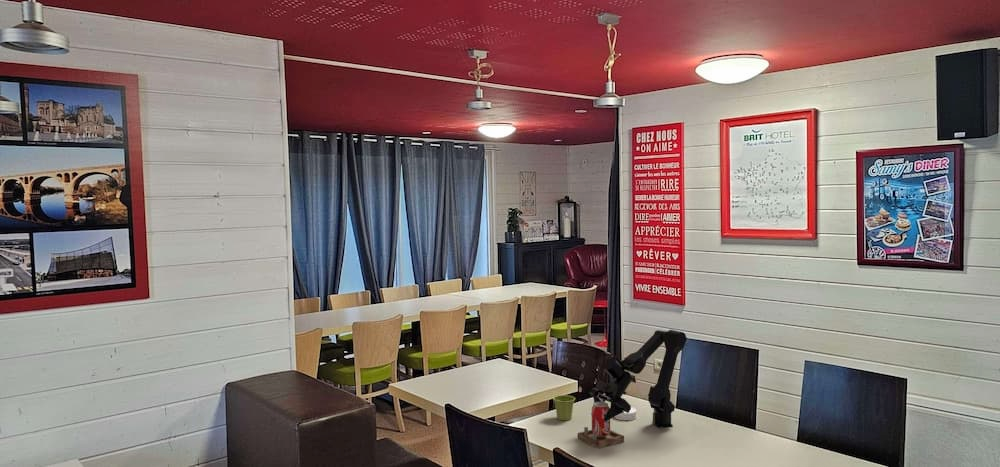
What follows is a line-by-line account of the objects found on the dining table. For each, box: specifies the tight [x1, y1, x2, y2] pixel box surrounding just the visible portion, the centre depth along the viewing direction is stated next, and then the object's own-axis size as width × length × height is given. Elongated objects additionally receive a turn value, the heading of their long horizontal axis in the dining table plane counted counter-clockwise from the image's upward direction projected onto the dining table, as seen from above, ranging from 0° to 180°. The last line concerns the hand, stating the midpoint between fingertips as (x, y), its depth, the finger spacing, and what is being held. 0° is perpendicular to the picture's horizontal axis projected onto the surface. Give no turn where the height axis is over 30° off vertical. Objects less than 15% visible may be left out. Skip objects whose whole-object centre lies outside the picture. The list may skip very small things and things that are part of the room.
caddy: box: [577, 426, 625, 449], centre depth 244 cm, size 13×12×5 cm
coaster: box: [613, 406, 638, 421], centre depth 271 cm, size 10×10×4 cm
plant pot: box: [552, 394, 576, 421], centre depth 270 cm, size 9×9×9 cm
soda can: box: [591, 401, 611, 437], centre depth 244 cm, size 7×7×12 cm
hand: (598, 418), depth 243 cm, fingers closed on soda can, 7 cm apart
